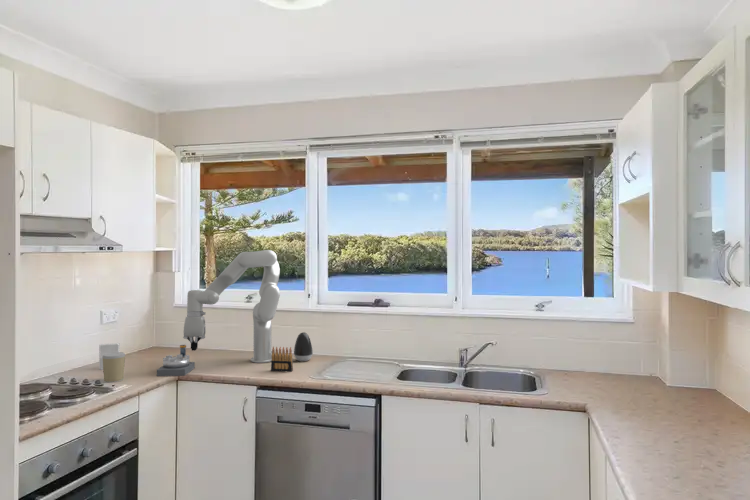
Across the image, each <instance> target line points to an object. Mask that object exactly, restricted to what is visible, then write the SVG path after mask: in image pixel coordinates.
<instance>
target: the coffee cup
mask: <svg viewBox="0 0 750 500" xmlns="http://www.w3.org/2000/svg"><path fill="white" fill-rule="evenodd" d="M102 358H103V370H102V371H103V380H104V383H117V382H121V381H123V380H124V374H125V362H126V361H125V359H126V353H125V352H122V351H119V352H113V353H107V354H104V355H103V356H102Z"/></svg>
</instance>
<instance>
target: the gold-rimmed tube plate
mask: <svg viewBox="0 0 750 500" xmlns="http://www.w3.org/2000/svg"><path fill="white" fill-rule="evenodd" d="M186 348H187V344H180V345H179V350H180V352H179V353H178V354H176V356H173V355H170V354H169V355H166V356H165V357H163V358H162V362H163V363H162V366H163V367H165V368H180V367H185V366H188V365H189V362H190V355H189V354H187V353H186V352H187V351H186V350H187V349H186Z"/></svg>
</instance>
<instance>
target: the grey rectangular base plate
mask: <svg viewBox="0 0 750 500" xmlns="http://www.w3.org/2000/svg"><path fill="white" fill-rule="evenodd" d="M195 366H196V365H195V361H189V365H188V366H185V367H180V368H165V367H163V365H162V366H160V367H159V368H157V369H156V377H179V376H180V377H181V376H183V377H184V376H186V375H188V374H189V373H190V372H191V371H192V370H194V369H195Z"/></svg>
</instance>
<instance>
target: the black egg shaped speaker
mask: <svg viewBox="0 0 750 500" xmlns="http://www.w3.org/2000/svg"><path fill="white" fill-rule="evenodd" d="M313 351H314V350H313V345H312V341H311V338H310V336H309V334H308V333H306V332H305V331H304V332H300V333H299V334H298V335H297V337H296V340H295V343H294V347H293V355H294V358H295V359H296V361H298V362H308V361H309V360H311V358H312V356H313Z"/></svg>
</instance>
